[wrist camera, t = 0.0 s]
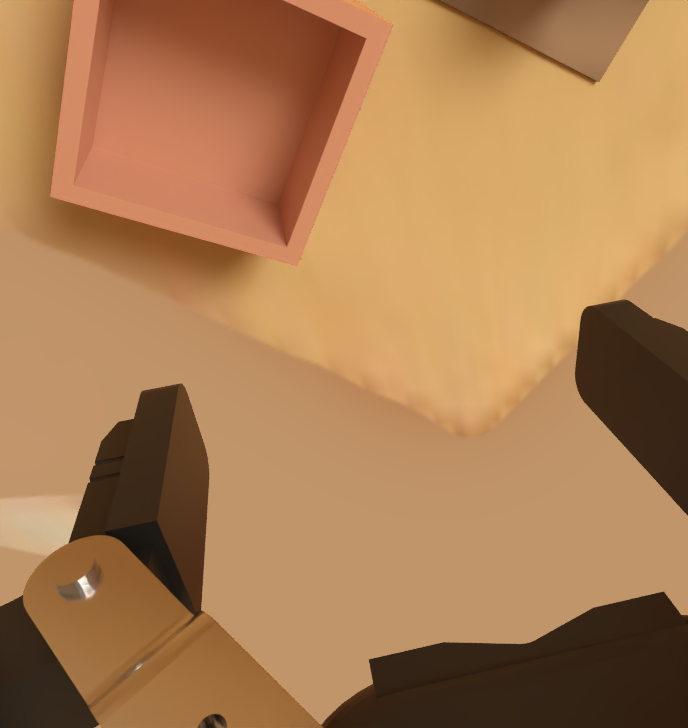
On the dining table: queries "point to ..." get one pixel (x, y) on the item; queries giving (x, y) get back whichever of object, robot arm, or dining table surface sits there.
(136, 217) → the salmon pink square box
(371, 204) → the dining table surface
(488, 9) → the lid
